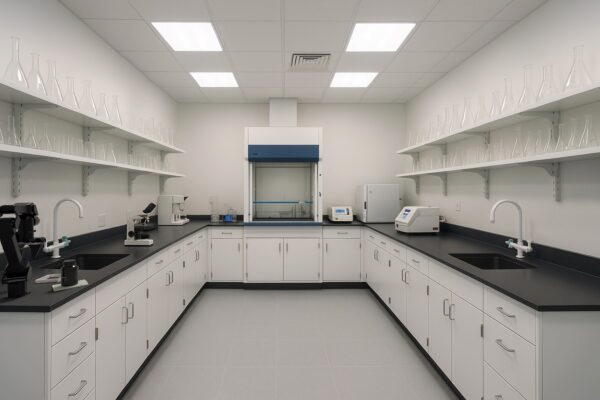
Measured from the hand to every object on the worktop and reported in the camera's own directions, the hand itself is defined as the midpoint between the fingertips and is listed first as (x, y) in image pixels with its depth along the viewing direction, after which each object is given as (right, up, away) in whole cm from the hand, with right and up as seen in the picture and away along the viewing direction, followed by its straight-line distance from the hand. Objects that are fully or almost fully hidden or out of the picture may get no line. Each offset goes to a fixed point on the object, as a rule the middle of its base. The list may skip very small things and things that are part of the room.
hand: (26, 260), depth 139 cm
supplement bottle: (+19, -13, +2) cm, 23 cm away
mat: (+19, -13, +3) cm, 23 cm away
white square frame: (+2, -13, +13) cm, 18 cm away
